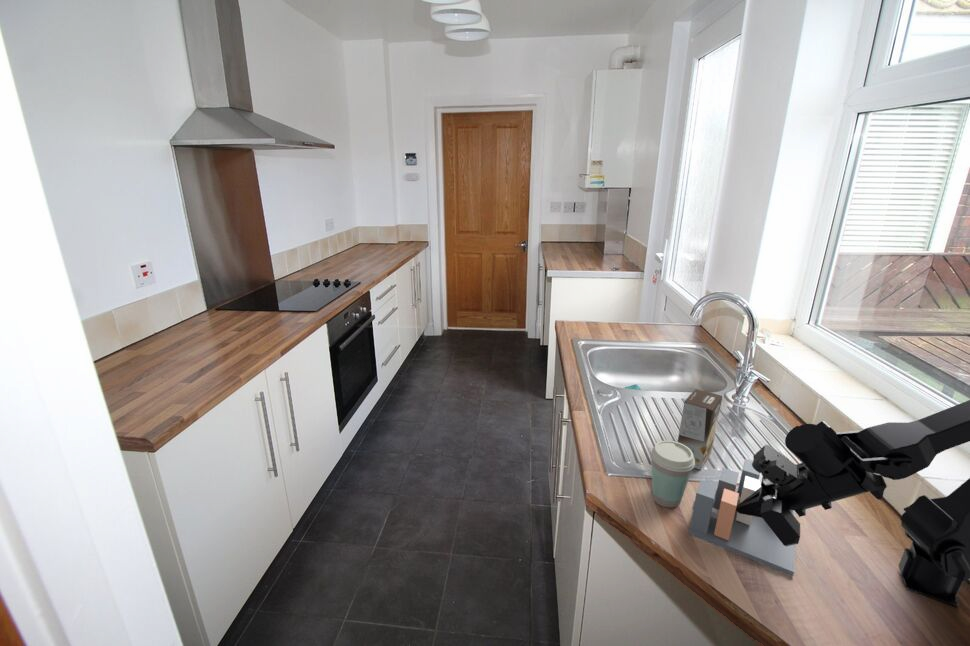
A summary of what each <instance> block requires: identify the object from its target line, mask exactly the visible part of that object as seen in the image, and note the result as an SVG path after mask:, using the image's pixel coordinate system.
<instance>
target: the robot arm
mask: <svg viewBox="0 0 970 646" xmlns="http://www.w3.org/2000/svg"><path fill="white" fill-rule="evenodd" d="M968 442H970V399H969V400H966V401H964V402H961V403H958V404H955V405H953V406H950V407H948V408H946V409H942V410H940V411H939V412H936V413H933V414H930V415H927V416H925V417H922V418H920V419H918V420H914V421H909V422H885V423H881V424H877V425H874V426H870V427H866V428H863V429H861V430H860V429H859V430H849V431H840V432H839V431H836V430H834V429H833V428H832V426H830V425H829V424H828V423H827V422H826V421H825V420H824V421H823V420H821V421H820V422H819V423H817V424H813V423H805V424H801V425H796V426H794V427H793V428H792V429H790V430H789V431H788V432H787V434H786V436H785V440H784V443H785V447H786V448H787V449H788V450H789V451H790V453H791V454H793V455H794V456H795V457H796V458H797V459H798V460H800V463H796V464H795V463H794V461H792V460H791V459H790V458H788V457H787V456H786V455H784V454H782V453H781V452H780V451H778V450H777V449H775V448H774V447H772V446H771V445H769V444H764V446H762V447H761V448H759V450H758V451H757V452H756V453H755V454H753V456H752V457H753V459H752V461H753V463H752V466H753V468H754V469H755V470H756V471H757V472H759V473H760V475H761V476H762V477H761V480H760V485H761V486H760V488H759V489H758V490H757V491H755V492H754V493H753V494H752V495H750V496H749V497H748V498H746V499H745V500H744V501H742V502H741V503H739V504H738V505H737V506H736V510H737V512H738V513H740V514H745V515H750V516H756V517H761V518H763V519H764V521H765V522H766V523H767V524H768V526H769V527H770V528H771V530H772V531H773V532H774V533H775V535H776V536H777V537H778V539H779V540H780V541H781V542H782V544H783V545H784V546H790V545H794V544H795V545H799V543H800V539H801V523H800V521H798V519H797V517H796V518H795V517H794V512H793V510H794V511H795V512H796V515H798V517H805V516H807V515H806V510H808V509H811V508H816V507H819V506H821V507H822V509H824V510H825V511H827V510H831V509H832V503H833V502H836V501H840V500H844V499H848V498H851V497H854V496H857V495H858V496H860V495H862V494H866V493H868V492H869V493H870V494H871V495H872V496H873V497H874V498H875V499H877V500H882V499H883V498H884V493H885V490H886V488H888V485H887V483H886V481H885V479H884V478H886V479H891V480H893V481H898V480H903V479H906V478H909V477H911V476H913V475H915V474H917V473H918V472H920V471H923V470H925V469H927V468H928V467H930V465H931V463H932V462H933V460H934V459H935V457H936V456H937V455H939V454H941V453H942V452H945V451H946V450H947V451H948V450H949V449H953V448H955V447H958V446H960V445H964V444H966V443H968ZM903 510H904V512H903V513H902V514H901V516H900V517H899V519H900V522H901V523H900V524H901V527H902V529H903V530H904V534H905V536H906V537H907V538H908V539H909V540H910V541H911V542H912V543H911V545H910V547H909V548H907V547H906V548H905V549H904V552H903V553H902V555H901V559H900V560H899V564H898V569H899V573H900V576H901V577H902V578H903V582H904V583H903V584H904V586H905V588H906V589H908V590H910V591H913V592H916V593H918V594H921V595H924V596H926V597H928V598H931V599H934V600H937V601H940V602H942V603H945V604H947V605H950V606H952V607H956V608H958V607H959V606H960V601H959V600H958V599H959V598H958V597H957V596H958V594H959V592H960V590H961V587H962V585H963V583H964V582H968V580H970V477H969V478H968V479H967V480H965V481H964V482H963V483H962V484H960V485H959V486H957V488H956V489H955V490H953V491H952V492H951V493H950V494H948V495H946V496H942V497H935V498H929V497H928V496H927V495H926V494H924V495H921V496H918V497H917V498H916V500H915V501H914V502H913V503H912V504H910V505H909V506H906V507H904V508H903Z"/></svg>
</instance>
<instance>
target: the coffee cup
mask: <svg viewBox="0 0 970 646" xmlns="http://www.w3.org/2000/svg"><path fill="white" fill-rule="evenodd" d="M650 457H651V497H652V499H653V500H654V502H656V503H657V504H658V505H660V506H661V507H665V508H676V507H679V506H680V505H681V502H682V499H683V497H684V494H685V491H686V488H687V485H688V481H689V479H690V476H691V473H692V470H693V469H694V466H695V459H694V456H693V452H692V451H691V450H690V449H689V448H688V447H687V446H685V445H683V444H681V443H678V441H676V440H675V441H674V440H661V441H660V440H659V441H658V442H656V444H655V445H654V446H653V448H652V449H651V452H650Z"/></svg>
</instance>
